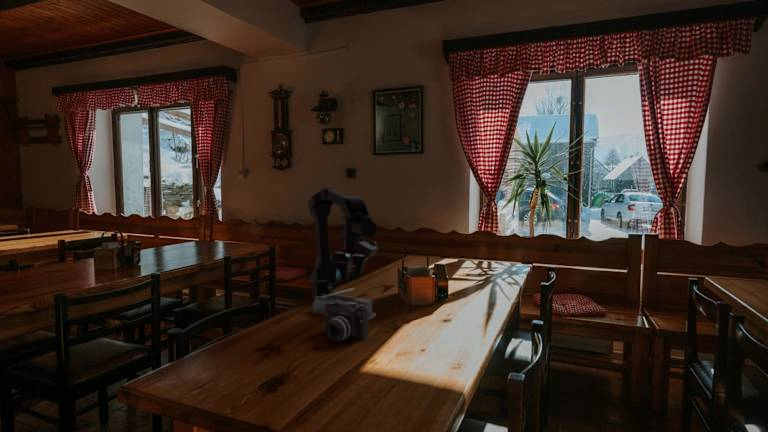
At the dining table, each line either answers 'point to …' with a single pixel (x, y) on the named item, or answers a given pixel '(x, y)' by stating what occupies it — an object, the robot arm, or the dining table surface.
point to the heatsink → (320, 303)
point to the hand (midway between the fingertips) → (352, 278)
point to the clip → (365, 303)
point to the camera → (345, 321)
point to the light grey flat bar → (336, 293)
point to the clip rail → (371, 316)
